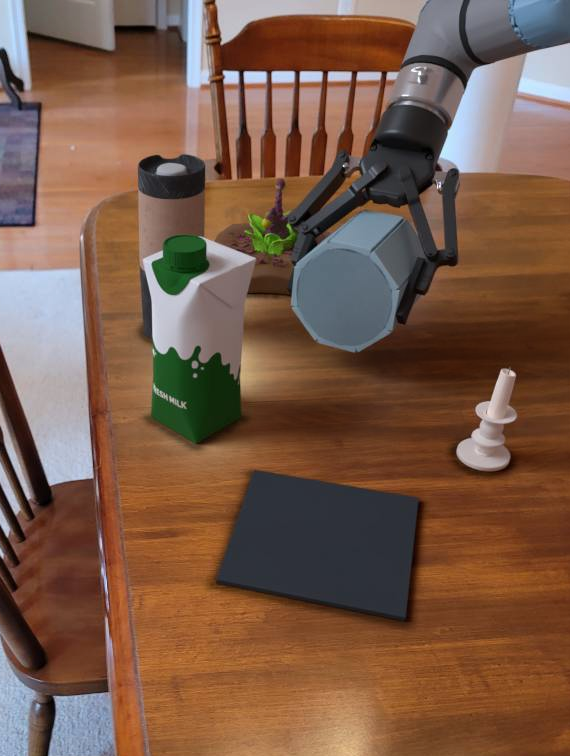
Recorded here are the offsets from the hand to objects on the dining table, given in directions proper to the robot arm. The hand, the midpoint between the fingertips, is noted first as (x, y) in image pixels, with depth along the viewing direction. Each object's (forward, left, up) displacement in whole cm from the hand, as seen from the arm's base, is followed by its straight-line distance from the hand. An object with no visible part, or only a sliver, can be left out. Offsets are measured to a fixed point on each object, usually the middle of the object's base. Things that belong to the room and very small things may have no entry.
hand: (344, 306), depth 92 cm
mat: (-3, +30, -8) cm, 31 cm away
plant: (+12, -26, -8) cm, 30 cm away
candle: (-17, +13, -8) cm, 23 cm away
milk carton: (+13, +14, -8) cm, 21 cm away
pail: (-1, -4, +1) cm, 4 cm away
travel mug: (+21, -4, -8) cm, 23 cm away
